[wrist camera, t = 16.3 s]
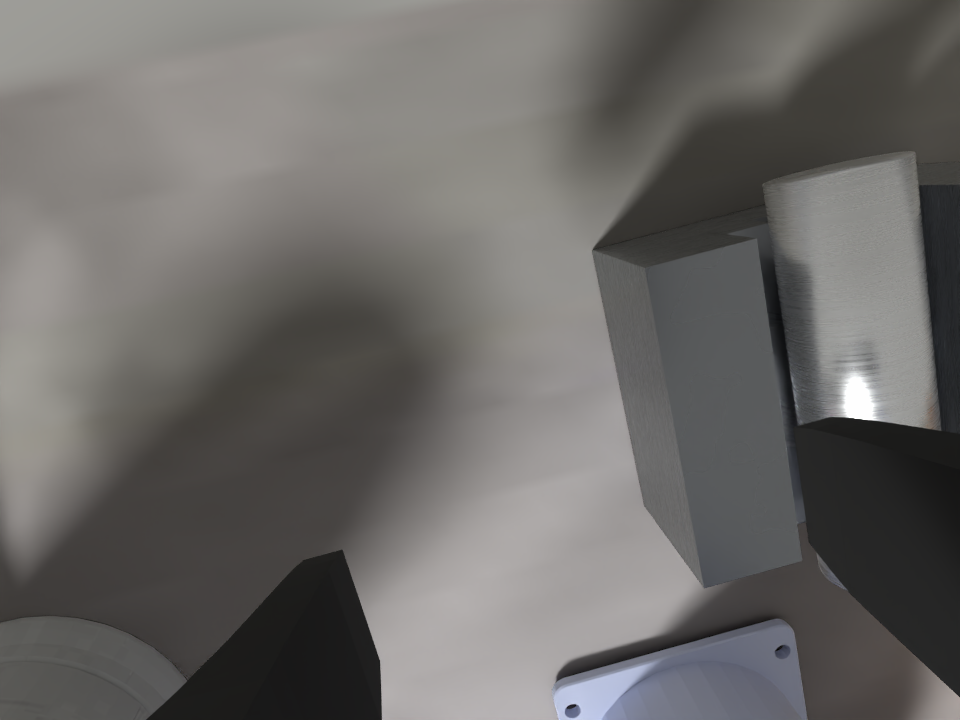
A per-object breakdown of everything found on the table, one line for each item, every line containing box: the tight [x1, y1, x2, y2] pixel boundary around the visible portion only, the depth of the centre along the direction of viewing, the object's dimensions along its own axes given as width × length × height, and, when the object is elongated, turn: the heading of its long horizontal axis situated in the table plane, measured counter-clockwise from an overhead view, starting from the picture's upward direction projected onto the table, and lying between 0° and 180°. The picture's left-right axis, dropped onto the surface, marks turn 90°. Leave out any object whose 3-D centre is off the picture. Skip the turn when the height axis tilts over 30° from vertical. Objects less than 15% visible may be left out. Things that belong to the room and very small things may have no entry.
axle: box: [763, 151, 941, 591], centre depth 16 cm, size 10×3×3 cm, turn 14°
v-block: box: [592, 162, 960, 588], centre depth 18 cm, size 8×10×4 cm
